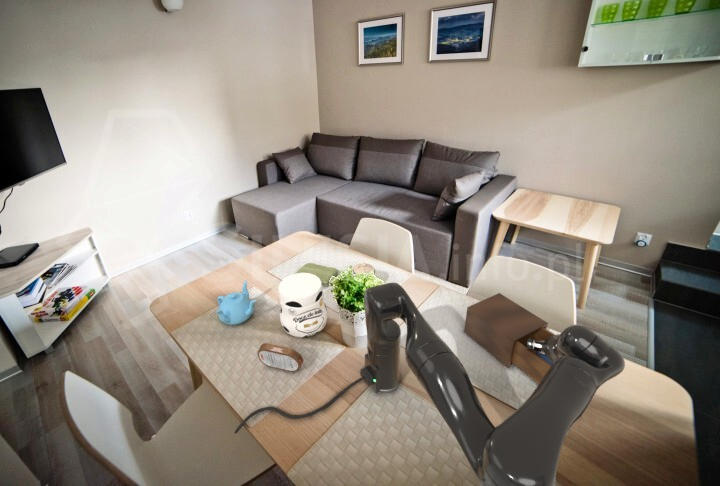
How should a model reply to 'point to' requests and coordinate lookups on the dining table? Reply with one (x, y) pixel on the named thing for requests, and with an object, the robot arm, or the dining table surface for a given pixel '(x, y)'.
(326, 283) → the washcloth
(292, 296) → the milk container
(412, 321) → the robot arm
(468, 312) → the wooden storage box
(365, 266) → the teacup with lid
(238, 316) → the teapot
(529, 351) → the drawer
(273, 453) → the dining table surface
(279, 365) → the tin
